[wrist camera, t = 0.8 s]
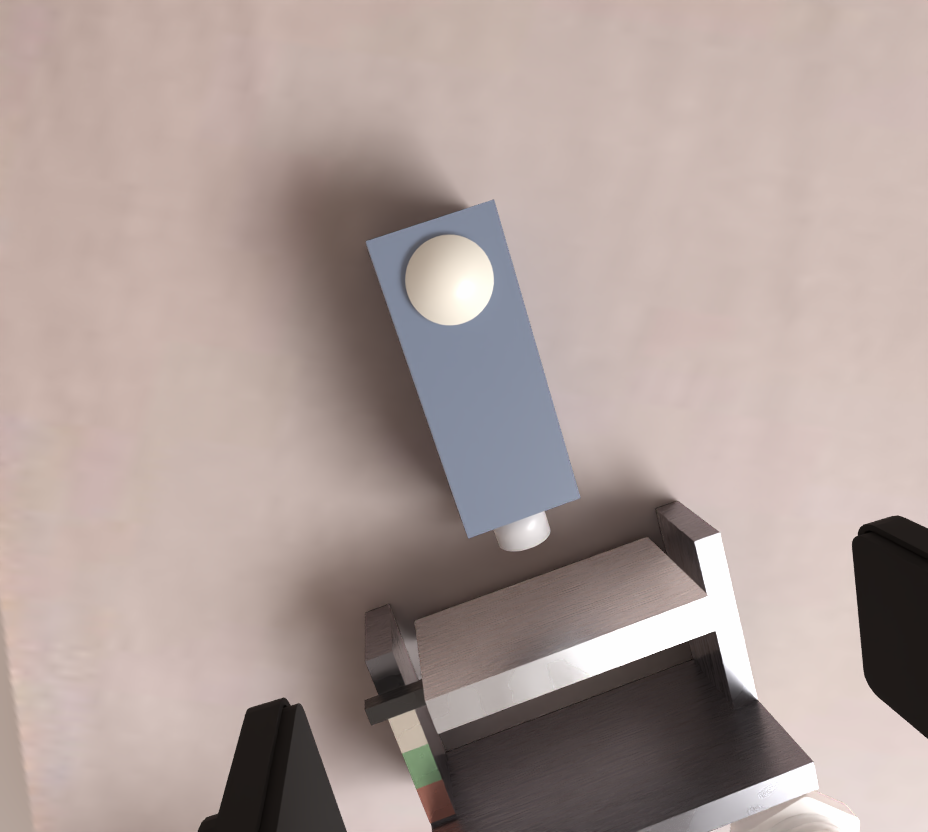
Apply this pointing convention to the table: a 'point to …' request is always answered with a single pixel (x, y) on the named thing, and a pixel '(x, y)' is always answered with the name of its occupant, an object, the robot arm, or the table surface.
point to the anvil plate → (548, 634)
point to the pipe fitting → (802, 816)
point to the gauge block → (477, 372)
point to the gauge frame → (614, 734)
